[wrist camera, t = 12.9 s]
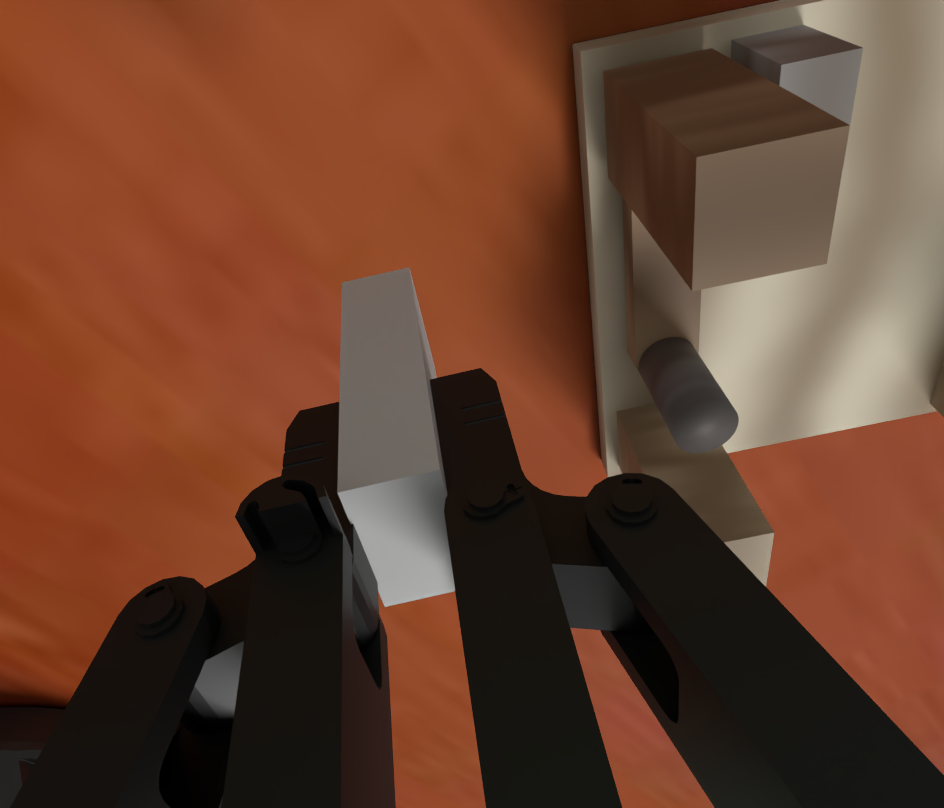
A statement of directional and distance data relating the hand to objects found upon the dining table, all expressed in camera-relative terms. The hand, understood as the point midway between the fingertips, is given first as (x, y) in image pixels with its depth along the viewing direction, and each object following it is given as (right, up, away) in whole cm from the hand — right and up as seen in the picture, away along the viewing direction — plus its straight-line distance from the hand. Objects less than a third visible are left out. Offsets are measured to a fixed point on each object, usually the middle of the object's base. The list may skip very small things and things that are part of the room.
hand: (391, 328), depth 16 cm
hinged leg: (+8, +4, +6) cm, 11 cm away
